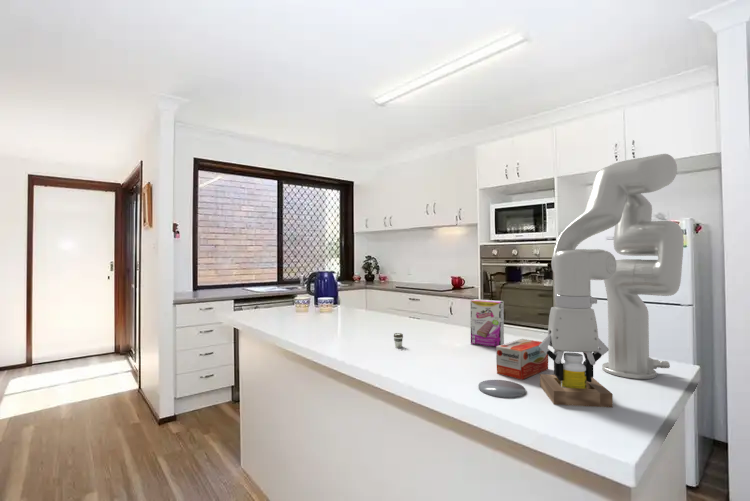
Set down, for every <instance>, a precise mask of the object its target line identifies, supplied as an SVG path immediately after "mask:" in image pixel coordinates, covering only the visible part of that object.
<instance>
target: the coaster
mask: <svg viewBox="0 0 750 501" xmlns="http://www.w3.org/2000/svg"><path fill="white" fill-rule="evenodd" d="M477 387H478V390H479V391H480V392H482V393H483V394H485V395H489V396H492V397H495V398H504V399H510V398H513V399H515V398H519V397H522V396H524V395H525V394H526V388H525V387H524V386H523V385H522V384H520V383H518V382H515V381H510V380H503V379H487V380H483V381H480V382H479V383H478V386H477Z"/></svg>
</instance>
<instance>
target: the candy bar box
mask: <svg viewBox="0 0 750 501" xmlns="http://www.w3.org/2000/svg"><path fill="white" fill-rule="evenodd" d="M504 306H505V302H504V301H503V300H492V299H491V300H490V299H480V298H479V299H477V298H475V299H474V298H473V299H471V300H470V345H475V346H476V345H477V346H484V347H491V348H492V347H493V348H496V346H499V345H503V344H505V332H504V331H505V329H504V328H505V326H504V325H505V321H504V320H505V319H504V318H505V317H504V316H505V314H504V313H505V312H504V310H505V309H504V308H505V307H504Z"/></svg>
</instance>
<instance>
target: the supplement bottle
mask: <svg viewBox="0 0 750 501" xmlns="http://www.w3.org/2000/svg"><path fill="white" fill-rule="evenodd" d="M582 354H583V353H582ZM582 354H581V353H580V352H564V353H563V362H562V361H561V363H562V364H563V380H562V381H561V387H562V388H580V389H586V366H585V365H584V364H583V362H584V354H583V355H582Z"/></svg>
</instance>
